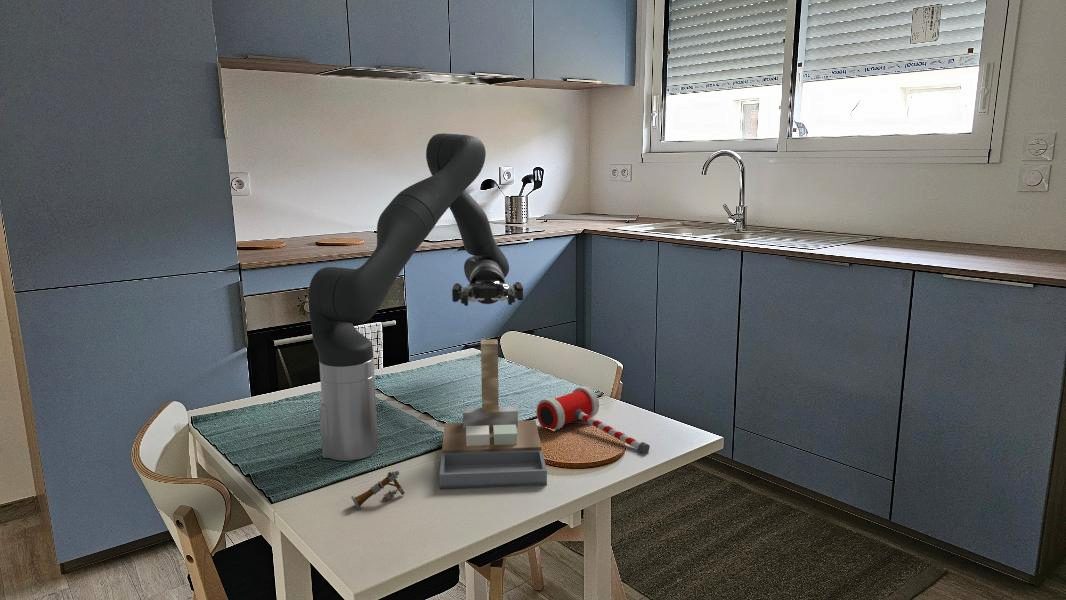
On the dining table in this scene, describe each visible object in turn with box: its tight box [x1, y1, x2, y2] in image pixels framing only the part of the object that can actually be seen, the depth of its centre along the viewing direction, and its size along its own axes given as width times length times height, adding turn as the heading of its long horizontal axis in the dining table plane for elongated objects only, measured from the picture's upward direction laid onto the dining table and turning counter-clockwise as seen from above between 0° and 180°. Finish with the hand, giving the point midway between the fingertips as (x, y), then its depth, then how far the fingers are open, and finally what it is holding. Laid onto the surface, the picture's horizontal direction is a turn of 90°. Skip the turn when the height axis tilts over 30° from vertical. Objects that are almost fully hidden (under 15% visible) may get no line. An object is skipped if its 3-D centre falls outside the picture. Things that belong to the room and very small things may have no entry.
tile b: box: [493, 424, 517, 445], centre depth 126 cm, size 4×4×2 cm
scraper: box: [462, 339, 519, 428], centre depth 131 cm, size 10×3×16 cm, turn 95°
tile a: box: [466, 425, 490, 446], centre depth 126 cm, size 4×4×2 cm
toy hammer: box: [536, 385, 650, 455], centre depth 136 cm, size 23×12×6 cm, turn 43°
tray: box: [439, 449, 548, 490], centre depth 119 cm, size 17×8×2 cm, turn 95°
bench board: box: [441, 419, 543, 454], centre depth 129 cm, size 17×12×3 cm
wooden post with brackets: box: [350, 470, 406, 511], centre depth 111 cm, size 2×8×4 cm, turn 120°
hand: (488, 300), depth 139 cm, fingers open, 8 cm apart
